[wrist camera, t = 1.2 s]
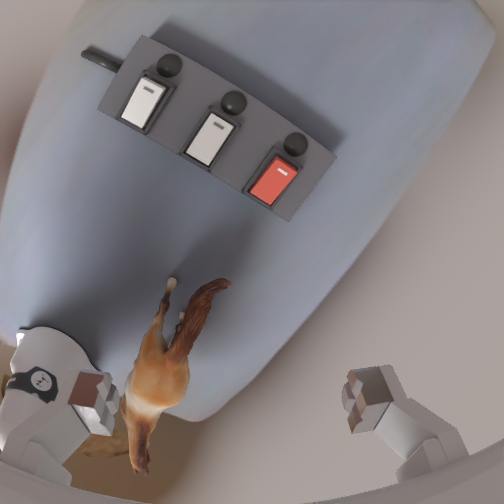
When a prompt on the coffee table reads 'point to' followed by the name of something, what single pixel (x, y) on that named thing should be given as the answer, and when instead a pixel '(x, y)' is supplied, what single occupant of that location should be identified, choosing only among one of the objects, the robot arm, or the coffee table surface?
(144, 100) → the grey rocker end
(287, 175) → the red rocker
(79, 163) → the coffee table surface
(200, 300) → the horse figurine
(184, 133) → the grey switch panel
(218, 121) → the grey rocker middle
